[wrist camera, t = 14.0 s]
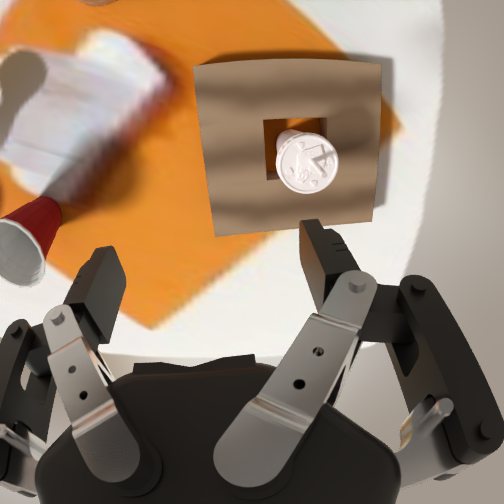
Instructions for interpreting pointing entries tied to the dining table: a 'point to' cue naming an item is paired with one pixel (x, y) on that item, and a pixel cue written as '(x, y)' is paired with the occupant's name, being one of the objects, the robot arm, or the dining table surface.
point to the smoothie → (305, 161)
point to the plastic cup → (28, 241)
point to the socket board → (279, 107)
